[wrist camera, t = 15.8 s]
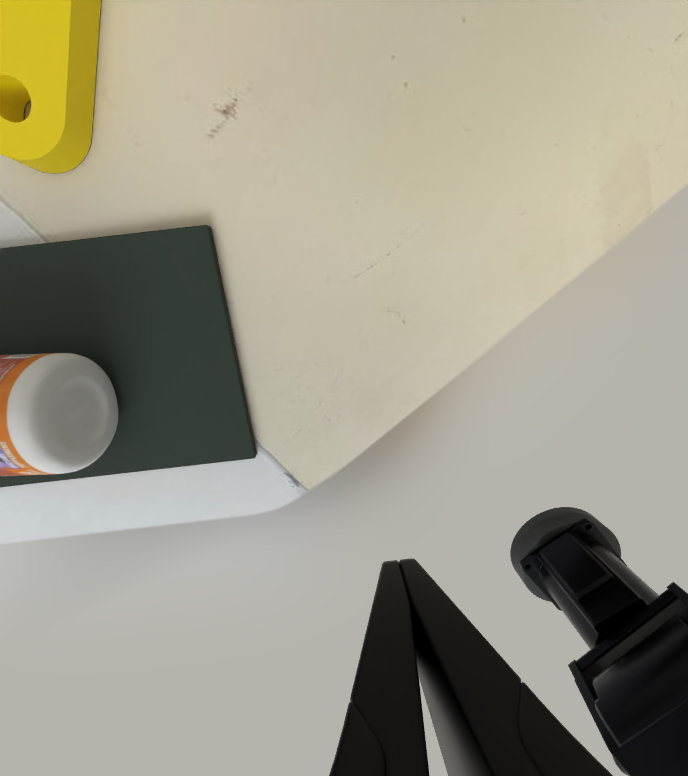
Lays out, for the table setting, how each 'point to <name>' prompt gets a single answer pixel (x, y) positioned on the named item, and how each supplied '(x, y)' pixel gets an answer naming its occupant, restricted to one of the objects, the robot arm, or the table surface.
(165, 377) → the mat
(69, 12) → the crank
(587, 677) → the robot arm
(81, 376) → the pill bottle
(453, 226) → the table surface
